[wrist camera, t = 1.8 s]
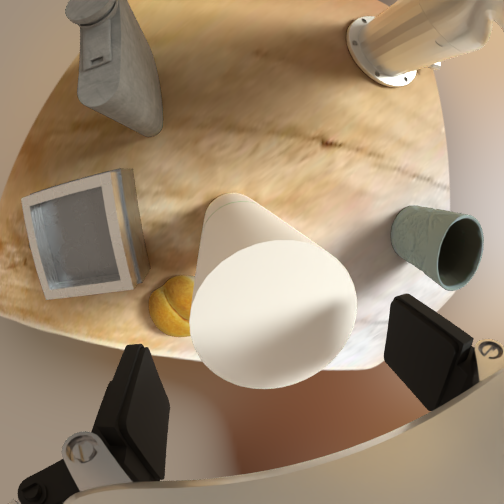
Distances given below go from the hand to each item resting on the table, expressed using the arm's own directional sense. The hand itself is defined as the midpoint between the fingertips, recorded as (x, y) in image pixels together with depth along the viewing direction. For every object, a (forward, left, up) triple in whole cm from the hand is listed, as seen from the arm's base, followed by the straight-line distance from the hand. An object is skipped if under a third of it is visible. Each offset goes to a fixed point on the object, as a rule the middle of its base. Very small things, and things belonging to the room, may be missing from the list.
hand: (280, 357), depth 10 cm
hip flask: (+9, -20, -27) cm, 35 cm away
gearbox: (+19, -2, -27) cm, 33 cm away
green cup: (-27, +5, -27) cm, 39 cm away
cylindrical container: (0, 0, -27) cm, 27 cm away
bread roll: (+8, +10, -27) cm, 30 cm away
